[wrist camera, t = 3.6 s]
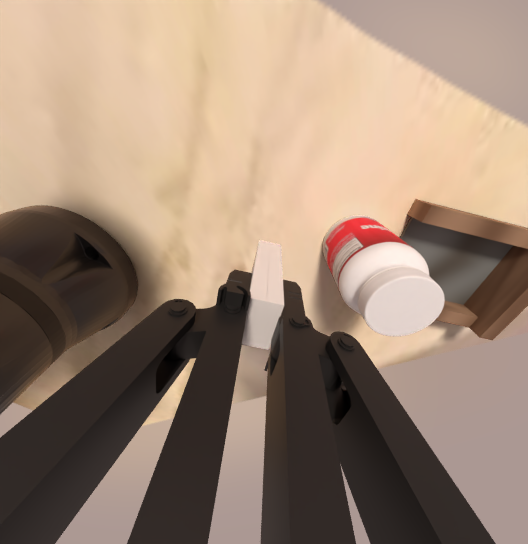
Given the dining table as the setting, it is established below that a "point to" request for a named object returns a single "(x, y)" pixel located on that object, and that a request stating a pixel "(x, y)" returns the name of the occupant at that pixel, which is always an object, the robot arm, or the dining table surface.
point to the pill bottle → (381, 277)
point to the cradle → (472, 265)
